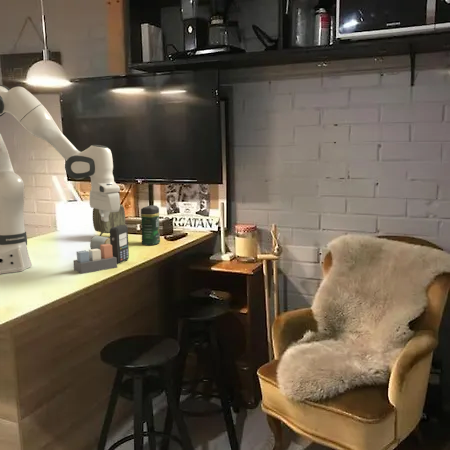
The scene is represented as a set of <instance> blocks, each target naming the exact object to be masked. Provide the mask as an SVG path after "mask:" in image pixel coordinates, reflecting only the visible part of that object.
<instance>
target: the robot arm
mask: <svg viewBox="0 0 450 450" xmlns="http://www.w3.org/2000/svg"><path fill="white" fill-rule="evenodd" d="M6 113H8V114H9V115H11V116H13V117H14V119H15V120H16V121H17V122H18V123H19V124H20V125H21V126H22V127H23V128H24V129H25V130H26V131H27V132H28V133H29V134H31V135H32V136H34V137H36V138H37V139H38V138H39V139H41V140H43V141H44V142H46V143H48V144H49V145H51V146H52V147H53V149H54V150H55V151H57V153H59V155H60V156H61V157H62V158H63V159H64V160H65V164H64V169H65V173H66V174H67V175H68V176H69V177H70V178H71V179H75V180H83V179H84V178H88V177H90V185H91V186H90V187H91V188H90V189H91V190H90V191H89V207H90V208H91V209H93V208H95V209H99V213H100V215H101V220H102V221H105V222H107V221H109V218H108V217H109V214H110V212H118V211H119V209H120V204H121V200H120V199H121V198H120V192H121V188H120V186H119V185H118V184H117V183H116V181H115V177H114V174H113V172H114V171H113V170H114V162H113V161H114V159H113V154H112V151H111V148H109V147H108V146H106V145H101V144H92V145H90V146H89V147H87V148H86V149H85V150H82V151H81V150H79V149H78V148H76V146H75V145H74V144H73V143H72V142H71V141H70V140H69V139H68V138H67V137H66V135H64V133H63V132H62V131H61V130H60V128H59V126H58V125H57V123H56V121H55V120H54V118H53V116H52V115H51V114H50V112H49V111H48V110H47V108H46V107H45V106H44V104H42V103H41V101H40V100H39V99H38V98H37V97H36V96H35V95H34V94H32V93H31V92H30V91H29V90H28V89H26V88H25V87H23V86H14V87H12V88H9V87H8V86H6V85H3V84H0V117H2V116H4V115H6ZM6 145H7V144H6V143H5V141H4V139H3V136H2V134H1V133H0V274H1V275H2V274H10V273H16V272H17V273H18V272H22V271H25V270H26V269H28V268H31V267H32V266H33V264H32V262H31V259H30V256H29V251H28V235H27V231H26V228H25V227H26V226H25V217H24V216H25V214H24V209H25V182H24V180H23V178H22V177H21V176H20V175H19V174H18V173H15V170H14V167H13V164H12V160H11V158H10V154H9V151H8V148H7V146H6Z"/></svg>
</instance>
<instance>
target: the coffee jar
mask: <svg viewBox="0 0 450 450" xmlns="http://www.w3.org/2000/svg"><path fill="white" fill-rule="evenodd" d="M140 219H141V244H142V245H145V246H152V245H153V246H155V245H158V244H159V243H161V234H160V208H159V207H158V206H157V205H154V204H153V205H152V204H149V205H148V206H144V207H142V208H141V209H140Z"/></svg>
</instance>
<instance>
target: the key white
mask: <svg viewBox="0 0 450 450" xmlns="http://www.w3.org/2000/svg"><path fill="white" fill-rule="evenodd" d="M88 252H89V260H92V261H94V260H100V259H101V250H100V249H91V248H90V249H88Z"/></svg>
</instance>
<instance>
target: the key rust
mask: <svg viewBox="0 0 450 450" xmlns="http://www.w3.org/2000/svg"><path fill="white" fill-rule="evenodd" d="M100 250H101V258H104V259H106V258H112V257H113V252H112V245H111V244H103V245H100Z"/></svg>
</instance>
